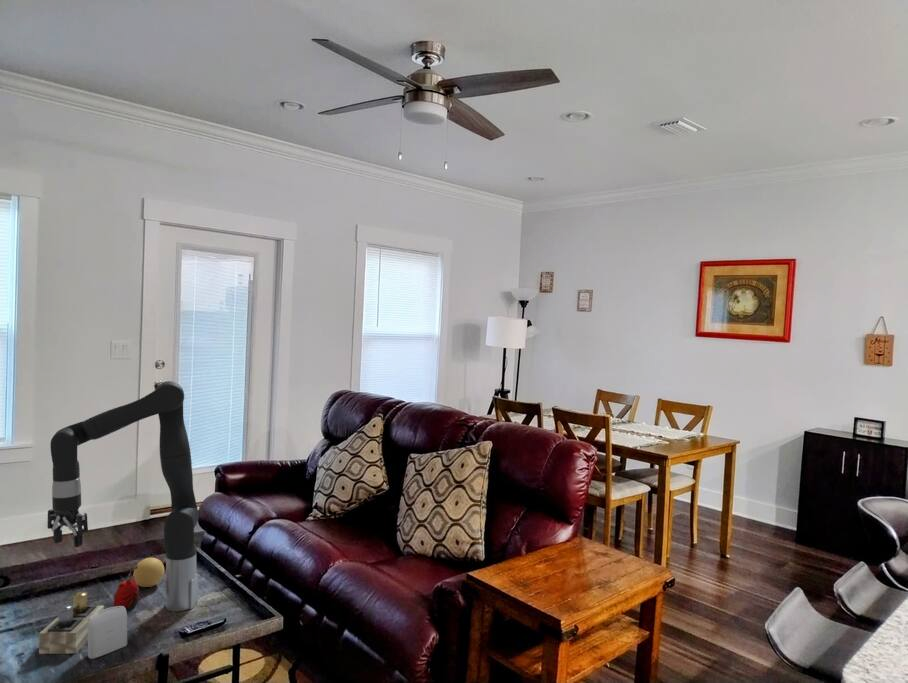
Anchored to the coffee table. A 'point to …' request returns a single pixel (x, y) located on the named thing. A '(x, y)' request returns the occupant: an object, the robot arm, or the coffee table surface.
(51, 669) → the coffee table surface
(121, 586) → the red clay folk toy
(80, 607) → the peg brass
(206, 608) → the coffee table surface
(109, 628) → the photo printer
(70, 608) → the peg steel
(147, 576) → the stress ball
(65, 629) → the birch block
